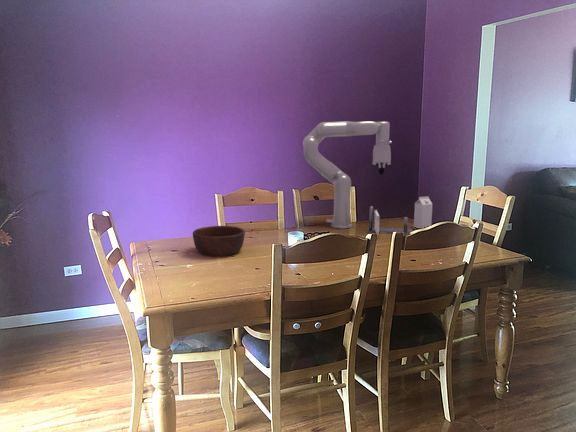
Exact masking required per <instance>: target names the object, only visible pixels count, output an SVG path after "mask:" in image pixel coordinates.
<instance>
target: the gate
mask: <svg viewBox="0 0 576 432" xmlns="http://www.w3.org/2000/svg"><path fill="white" fill-rule="evenodd" d="M380 219H381V218H380V214H379V212H378V209H373V228H374V229H375V232H376V233H377V234H378V235H377V234H376V233H375V234H376V235H377V236H379V235H380V233H379V228H380Z"/></svg>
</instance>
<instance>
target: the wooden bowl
mask: <svg viewBox="0 0 576 432" xmlns="http://www.w3.org/2000/svg"><path fill="white" fill-rule="evenodd" d="M192 239H193V243H194V247H195V249H196V251H197V252H198V253H199V255H200V254H201V255H203V256H205V257H218V258H219V257H228V256H233V255H236V254H238V253H239V252H240V251H241V250H242V248H243V245H244V242H245V229H243V228H242V227H239V226H232V225H211V226H205V227H204V226H203V227H200V228H196V229H194V230H193V231H192Z"/></svg>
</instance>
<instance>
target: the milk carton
mask: <svg viewBox="0 0 576 432" xmlns="http://www.w3.org/2000/svg"><path fill="white" fill-rule="evenodd" d="M413 215H414V216H413V228H414V227H416V228H424V227H427V226H430V225H431V226H432V220H433V219H432V217H433V202H432V201H431V199H430V196H419V197H418V199H417V200H416V201H415V202H414V214H413ZM416 228H415V229H416Z"/></svg>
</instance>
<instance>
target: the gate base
mask: <svg viewBox="0 0 576 432" xmlns="http://www.w3.org/2000/svg"><path fill="white" fill-rule="evenodd" d="M368 215H369V216H368V217H369V218H368V227H367V233H368V232H371V234H373V233H374V234H376V233H375V229H374V228H373V224H374V206H373V205H371V206H369V214H368ZM408 222H409V217H408V216H404V219H403V228H401V227H400V228H399V227H398V228H397V227H379V232H385V233H384V234H389V233H393V232H395V231H397V232H404V233H408V234H407V235H410V234H409V233H410V232H412V231H413V228H408V226H409V225H408V224H409V223H408ZM386 232H387V233H386ZM413 232H414V231H413Z"/></svg>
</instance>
